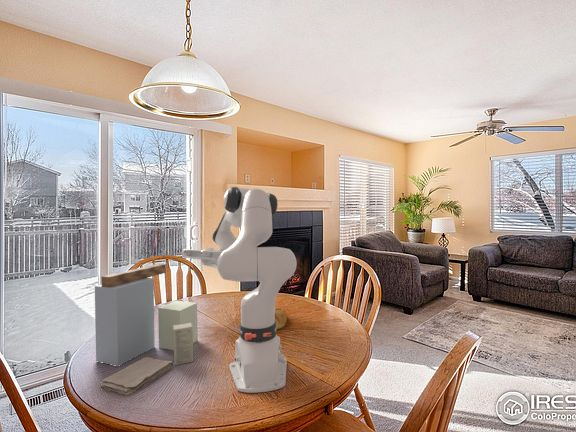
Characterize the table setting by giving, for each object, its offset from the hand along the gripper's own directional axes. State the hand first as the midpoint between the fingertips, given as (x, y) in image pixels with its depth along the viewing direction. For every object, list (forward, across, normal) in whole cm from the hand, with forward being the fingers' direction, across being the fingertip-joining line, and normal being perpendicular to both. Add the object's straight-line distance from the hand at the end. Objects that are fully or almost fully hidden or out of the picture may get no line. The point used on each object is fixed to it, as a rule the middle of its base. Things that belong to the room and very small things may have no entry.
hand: (193, 251), depth 136 cm
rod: (+22, -6, +15) cm, 27 cm away
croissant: (-24, +34, +27) cm, 49 cm away
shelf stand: (+18, -5, +41) cm, 45 cm away
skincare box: (+16, +18, +40) cm, 46 cm away
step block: (+6, +7, +37) cm, 38 cm away
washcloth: (+28, +11, +44) cm, 54 cm away
